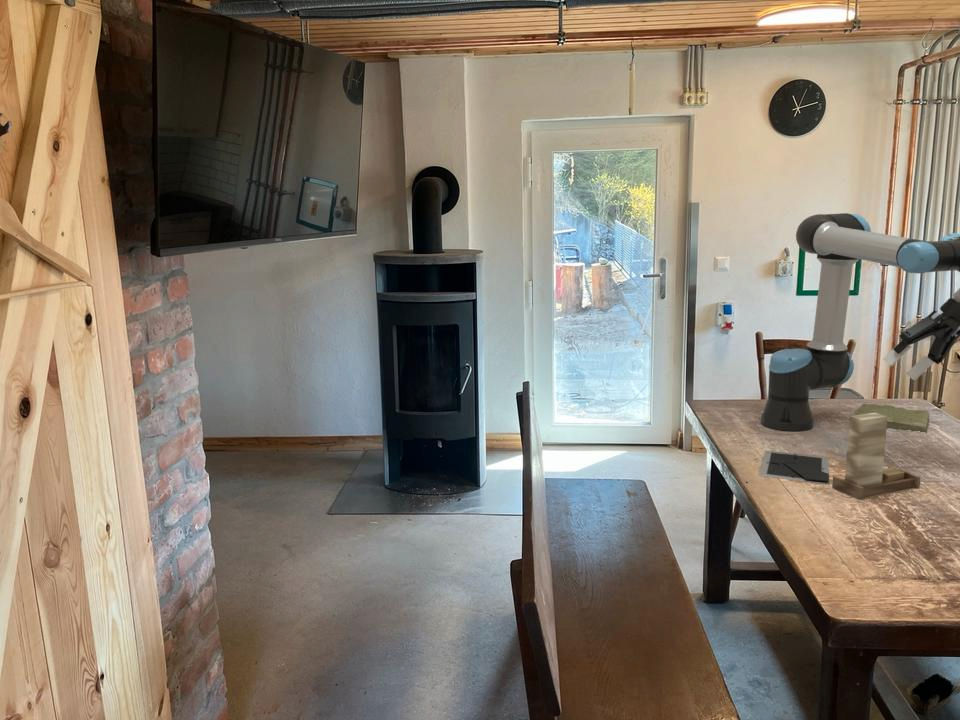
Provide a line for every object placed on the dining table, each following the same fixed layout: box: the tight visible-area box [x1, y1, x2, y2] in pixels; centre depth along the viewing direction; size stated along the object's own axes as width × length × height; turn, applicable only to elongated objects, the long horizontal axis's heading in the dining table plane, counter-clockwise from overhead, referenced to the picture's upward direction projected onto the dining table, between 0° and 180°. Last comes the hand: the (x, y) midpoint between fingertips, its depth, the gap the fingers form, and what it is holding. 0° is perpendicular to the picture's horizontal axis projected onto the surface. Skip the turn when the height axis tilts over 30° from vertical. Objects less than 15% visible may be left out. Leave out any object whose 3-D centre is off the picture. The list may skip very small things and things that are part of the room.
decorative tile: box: [853, 403, 930, 433], centre depth 224 cm, size 19×20×4 cm
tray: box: [831, 465, 921, 501], centre depth 168 cm, size 8×18×4 cm, turn 109°
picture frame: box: [758, 450, 830, 485], centre depth 183 cm, size 16×3×21 cm
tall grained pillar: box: [844, 413, 888, 487], centre depth 165 cm, size 4×8×18 cm, turn 109°
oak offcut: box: [882, 468, 904, 483], centre depth 169 cm, size 4×5×4 cm
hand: (898, 370), depth 183 cm, fingers open, 13 cm apart
